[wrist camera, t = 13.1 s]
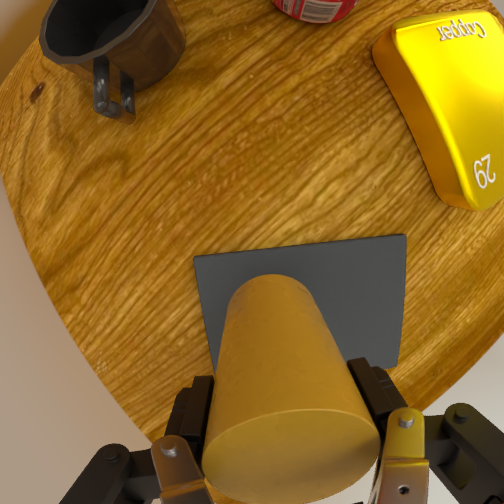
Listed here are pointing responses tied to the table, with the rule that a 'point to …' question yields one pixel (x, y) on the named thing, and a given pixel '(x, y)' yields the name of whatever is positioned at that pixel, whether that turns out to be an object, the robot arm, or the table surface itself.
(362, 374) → the robot arm
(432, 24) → the element tile
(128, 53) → the mug
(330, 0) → the soda can
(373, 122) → the table surface
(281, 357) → the tan cylindrical piece
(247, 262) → the mat
